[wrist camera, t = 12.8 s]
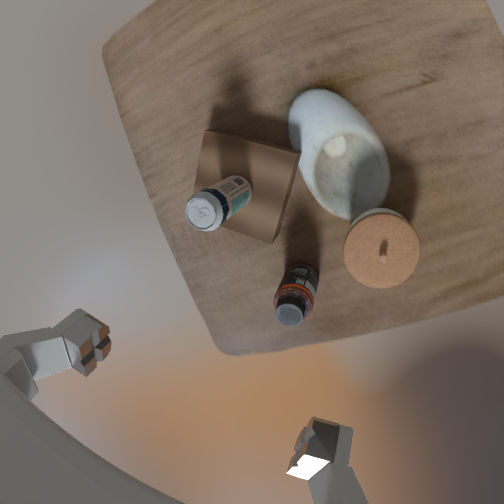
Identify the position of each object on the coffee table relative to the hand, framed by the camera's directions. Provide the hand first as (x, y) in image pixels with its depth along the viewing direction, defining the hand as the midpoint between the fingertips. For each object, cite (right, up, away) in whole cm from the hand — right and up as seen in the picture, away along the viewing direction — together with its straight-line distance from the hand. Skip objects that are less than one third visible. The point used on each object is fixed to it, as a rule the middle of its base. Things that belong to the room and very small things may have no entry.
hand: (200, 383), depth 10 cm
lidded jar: (+21, +8, +34) cm, 41 cm away
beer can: (0, +14, +35) cm, 37 cm away
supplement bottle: (+10, 0, +42) cm, 43 cm away
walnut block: (+1, +16, +38) cm, 41 cm away
